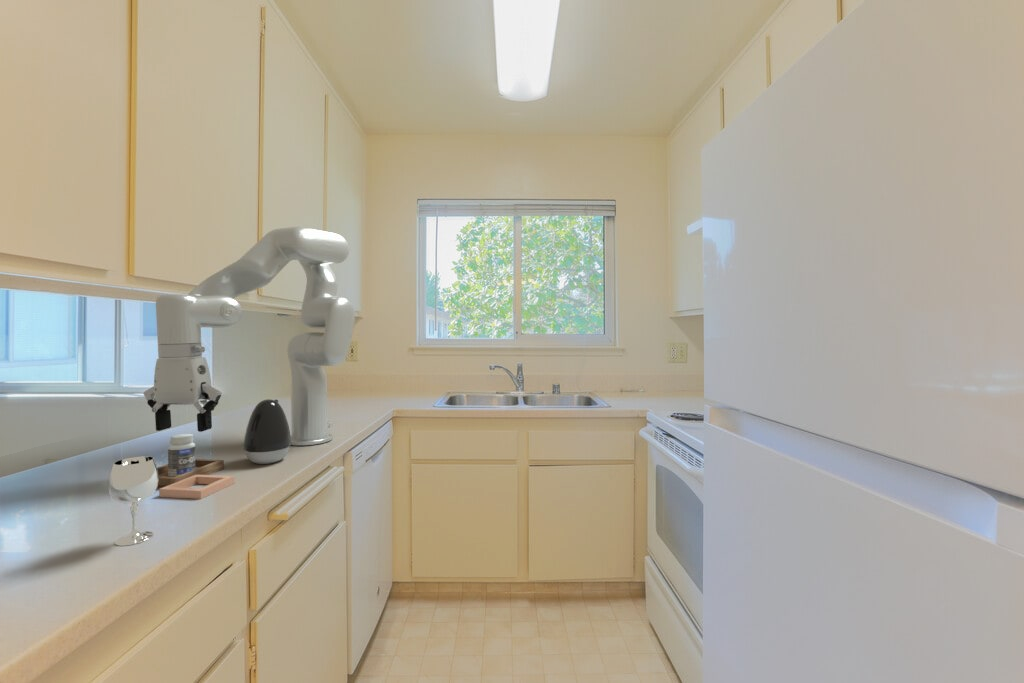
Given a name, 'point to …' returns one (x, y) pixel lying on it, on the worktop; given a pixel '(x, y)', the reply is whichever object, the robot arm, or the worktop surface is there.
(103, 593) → the worktop surface
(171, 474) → the pill bottle
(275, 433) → the pump dispenser
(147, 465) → the wineglass
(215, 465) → the tray
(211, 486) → the frame
